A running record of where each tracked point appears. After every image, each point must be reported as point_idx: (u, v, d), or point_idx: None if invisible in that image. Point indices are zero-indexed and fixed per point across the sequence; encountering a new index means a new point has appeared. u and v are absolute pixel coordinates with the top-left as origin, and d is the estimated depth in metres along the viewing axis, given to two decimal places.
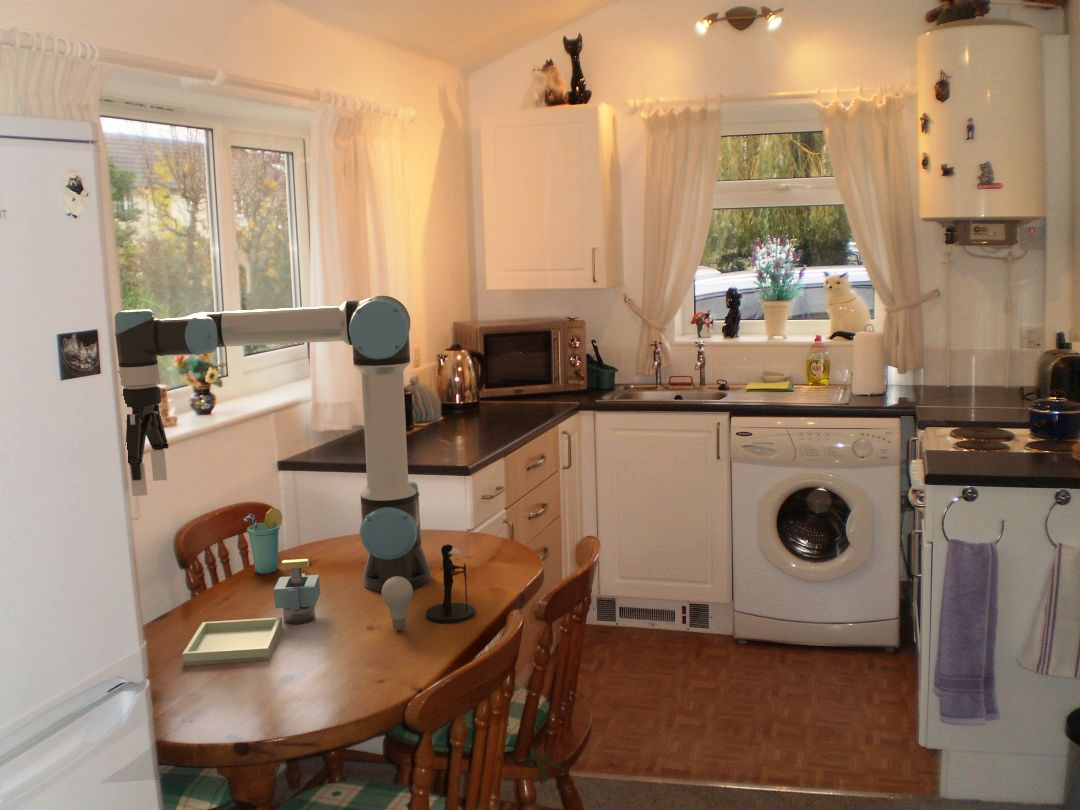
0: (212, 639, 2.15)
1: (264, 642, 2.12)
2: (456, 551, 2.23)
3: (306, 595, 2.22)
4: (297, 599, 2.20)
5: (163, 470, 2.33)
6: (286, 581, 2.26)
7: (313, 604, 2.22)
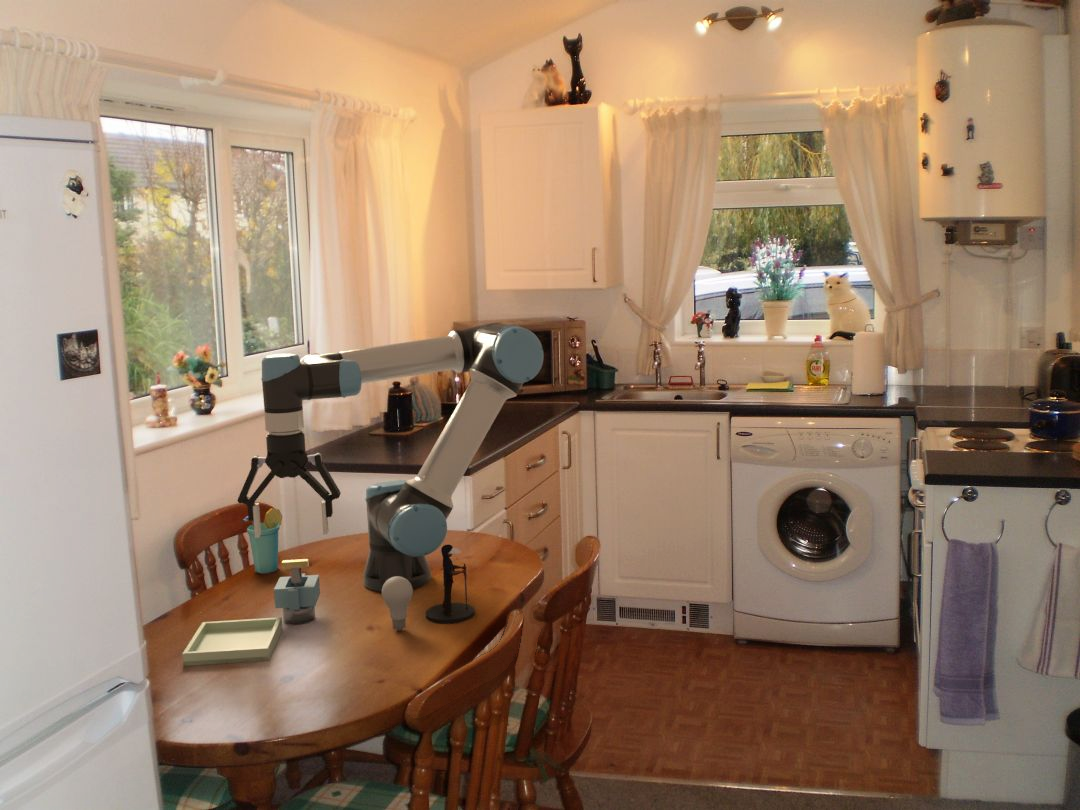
0: (212, 639, 2.15)
1: (264, 642, 2.12)
2: (456, 551, 2.23)
3: (306, 595, 2.22)
4: (297, 599, 2.20)
5: None
6: (286, 581, 2.26)
7: (313, 604, 2.22)
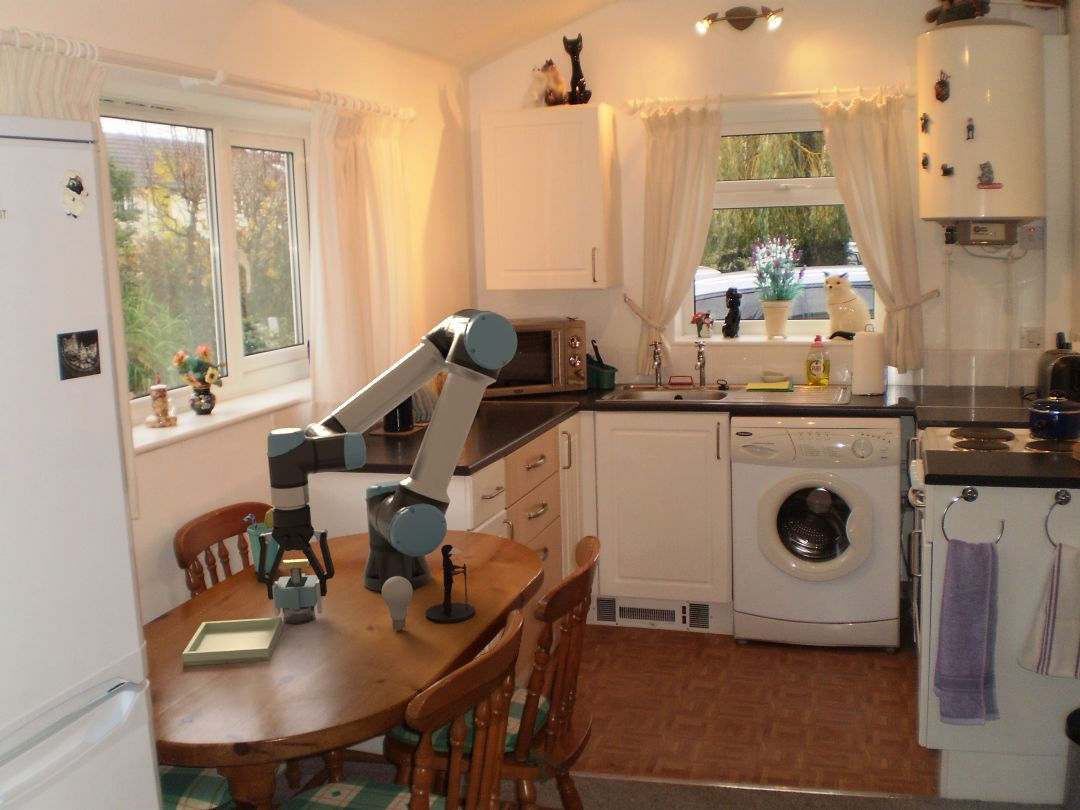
0: (212, 639, 2.15)
1: (264, 642, 2.12)
2: (456, 551, 2.23)
3: (306, 595, 2.22)
4: (297, 599, 2.20)
5: (317, 603, 2.25)
6: (286, 581, 2.26)
7: (313, 604, 2.22)
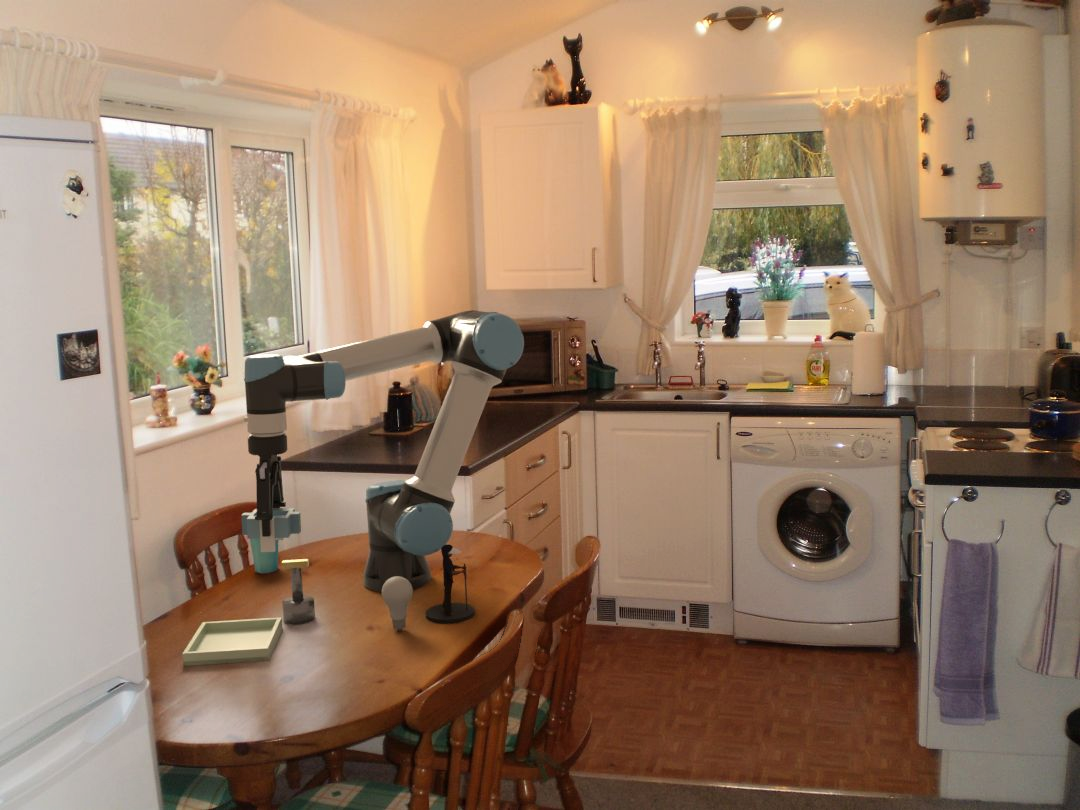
0: (212, 639, 2.15)
1: (264, 642, 2.12)
2: (456, 551, 2.23)
3: None
4: (300, 520, 2.20)
5: None
6: None
7: None
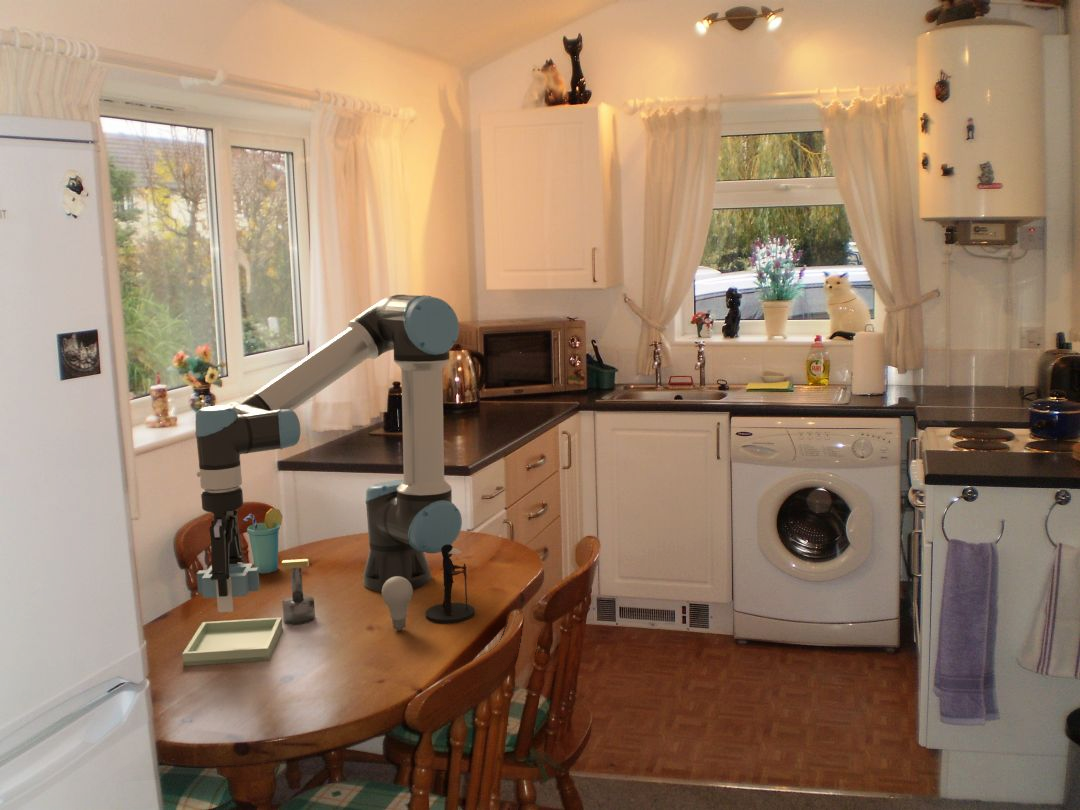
0: (212, 639, 2.15)
1: (264, 642, 2.12)
2: (456, 551, 2.23)
3: None
4: (258, 577, 2.12)
5: None
6: None
7: None
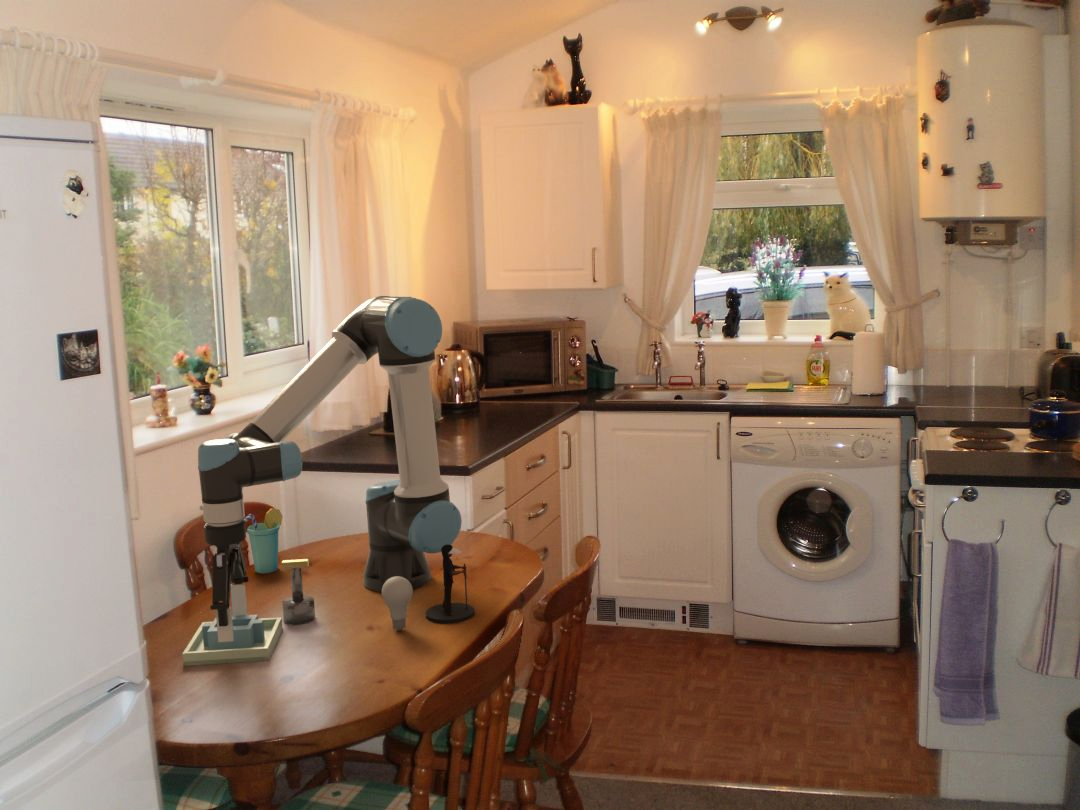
0: None
1: (264, 642, 2.12)
2: (456, 551, 2.23)
3: None
4: (263, 628, 2.13)
5: (244, 606, 2.18)
6: None
7: None
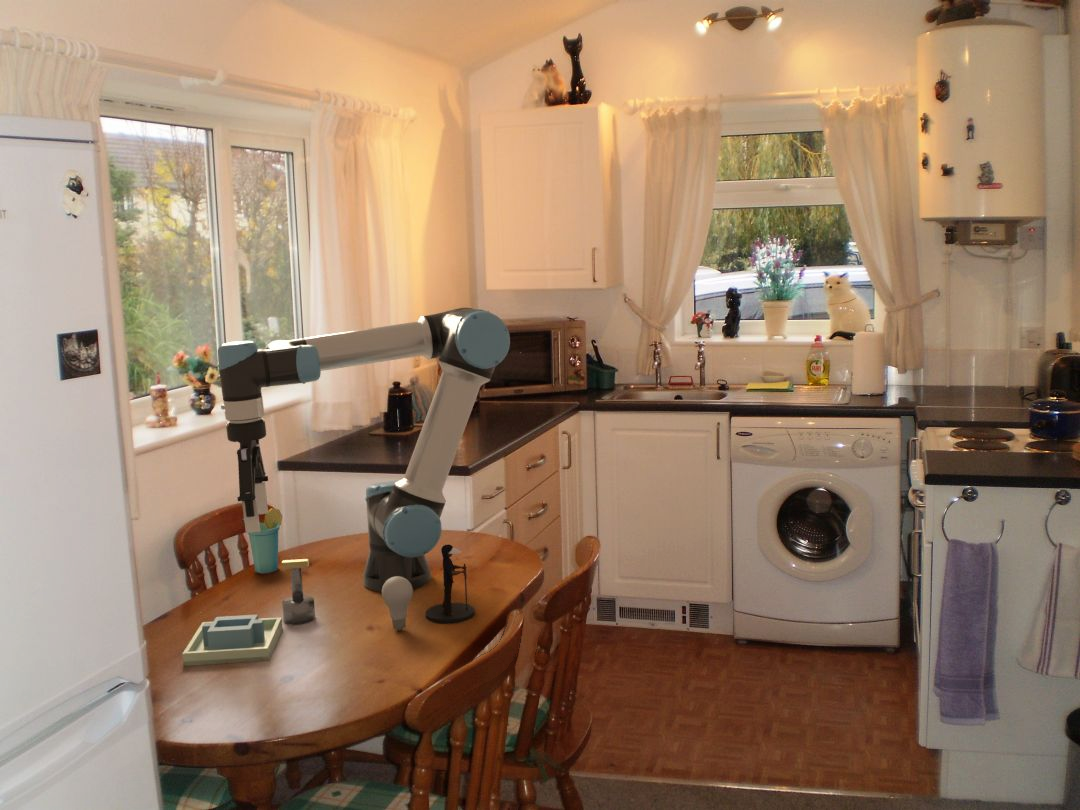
0: None
1: (264, 642, 2.12)
2: (456, 551, 2.23)
3: None
4: (263, 628, 2.13)
5: (265, 503, 2.28)
6: (226, 627, 2.10)
7: None
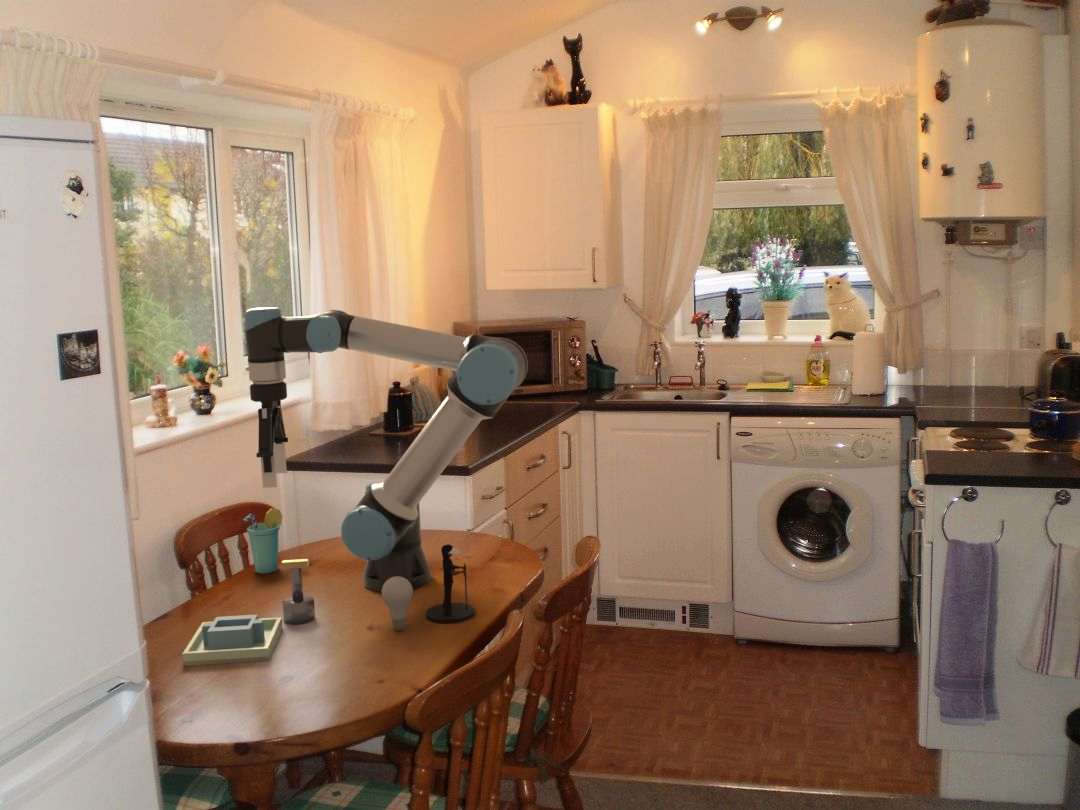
0: None
1: (264, 642, 2.12)
2: (456, 551, 2.23)
3: None
4: (263, 628, 2.13)
5: (283, 463, 2.41)
6: (226, 627, 2.10)
7: None
